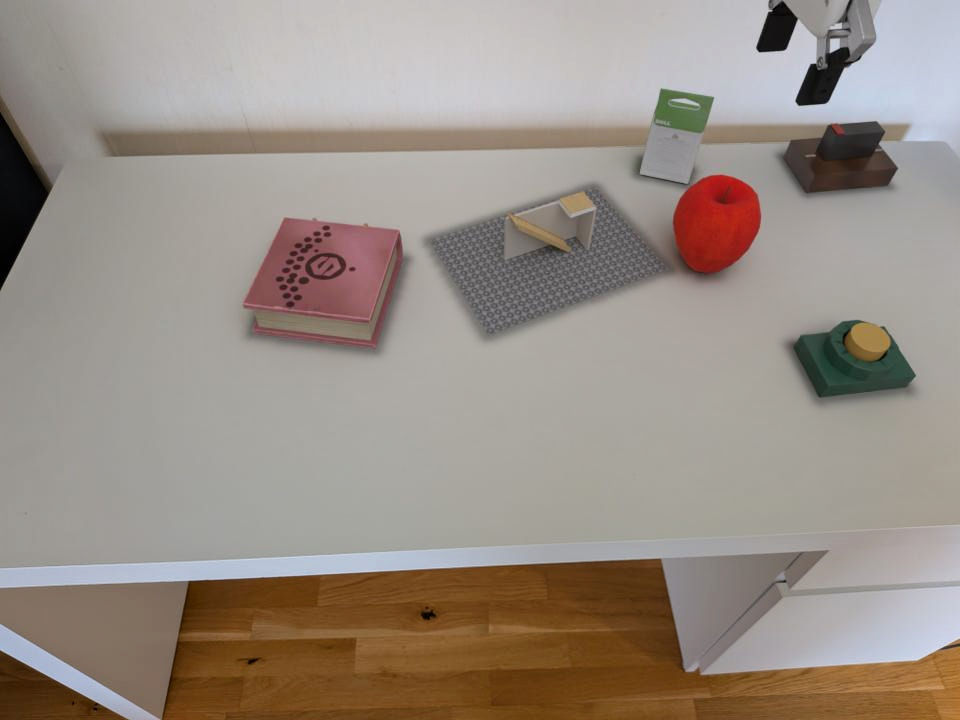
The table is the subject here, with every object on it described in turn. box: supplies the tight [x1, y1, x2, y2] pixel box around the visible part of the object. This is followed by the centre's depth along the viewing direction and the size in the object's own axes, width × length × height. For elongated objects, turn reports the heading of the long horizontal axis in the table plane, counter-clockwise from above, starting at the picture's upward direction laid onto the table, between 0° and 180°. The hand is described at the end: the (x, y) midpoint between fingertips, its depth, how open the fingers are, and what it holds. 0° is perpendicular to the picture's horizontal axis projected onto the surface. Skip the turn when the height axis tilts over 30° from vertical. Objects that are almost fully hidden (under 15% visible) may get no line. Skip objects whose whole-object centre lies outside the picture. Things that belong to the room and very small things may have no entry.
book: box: [241, 216, 404, 349], centre depth 80 cm, size 14×15×5 cm
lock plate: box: [783, 137, 899, 194], centre depth 95 cm, size 12×8×3 cm, turn 98°
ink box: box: [639, 88, 715, 185], centre depth 91 cm, size 7×4×13 cm, turn 71°
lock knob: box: [817, 120, 886, 161], centre depth 93 cm, size 7×2×4 cm, turn 98°
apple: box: [672, 174, 762, 274], centre depth 81 cm, size 10×10×12 cm
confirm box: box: [793, 319, 917, 398], centre depth 74 cm, size 10×7×4 cm
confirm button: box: [844, 322, 890, 362], centre depth 72 cm, size 4×4×2 cm
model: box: [503, 190, 598, 261], centre depth 83 cm, size 3×11×8 cm, turn 115°
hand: (789, 75), depth 68 cm, fingers open, 9 cm apart
